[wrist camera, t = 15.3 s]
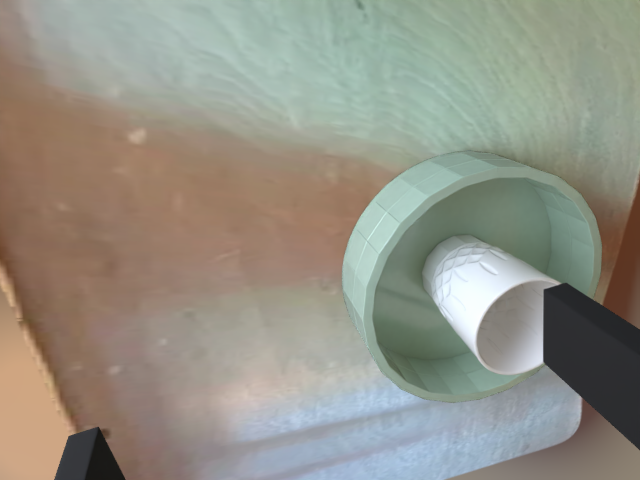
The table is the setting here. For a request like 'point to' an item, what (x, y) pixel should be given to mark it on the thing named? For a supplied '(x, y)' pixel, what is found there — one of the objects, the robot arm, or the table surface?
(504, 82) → the table surface
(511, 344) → the white cup
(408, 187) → the bowl
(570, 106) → the table surface
